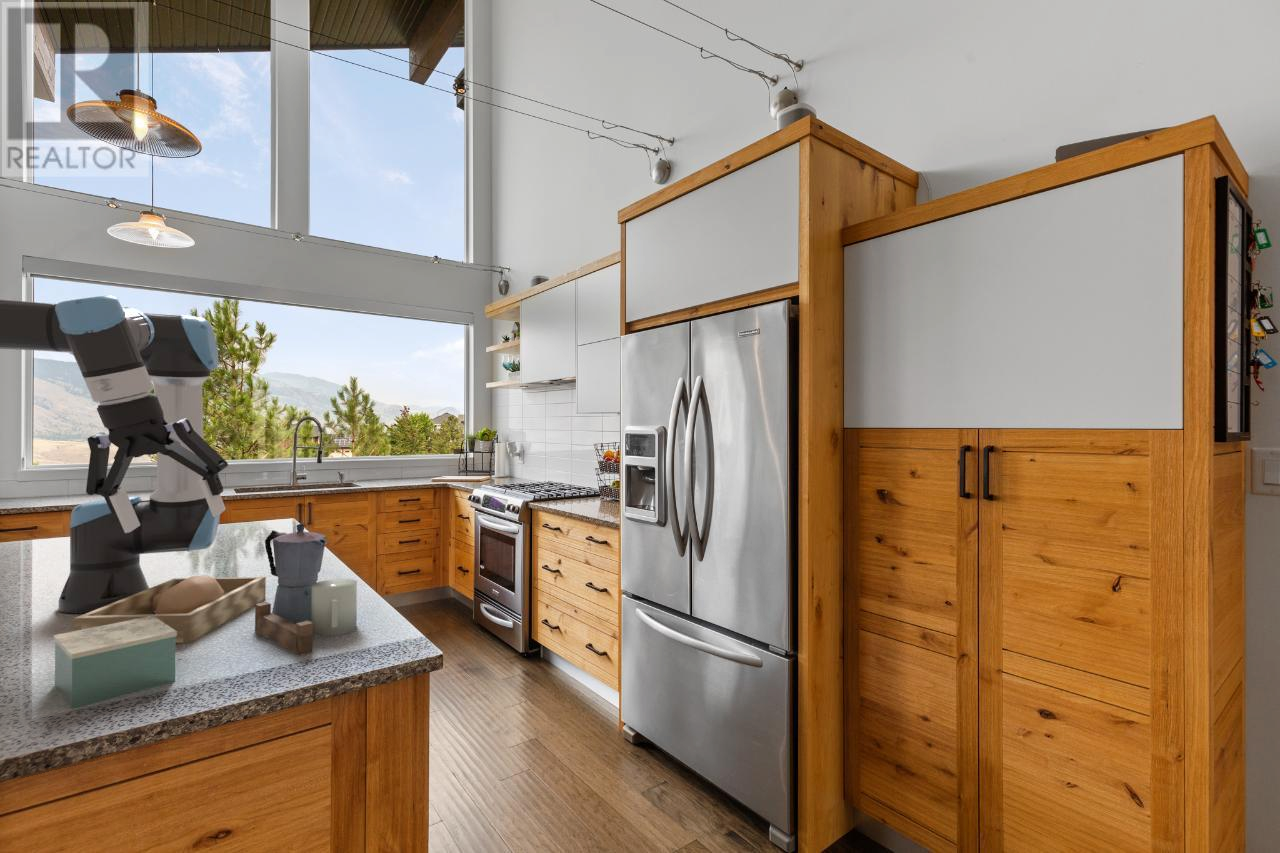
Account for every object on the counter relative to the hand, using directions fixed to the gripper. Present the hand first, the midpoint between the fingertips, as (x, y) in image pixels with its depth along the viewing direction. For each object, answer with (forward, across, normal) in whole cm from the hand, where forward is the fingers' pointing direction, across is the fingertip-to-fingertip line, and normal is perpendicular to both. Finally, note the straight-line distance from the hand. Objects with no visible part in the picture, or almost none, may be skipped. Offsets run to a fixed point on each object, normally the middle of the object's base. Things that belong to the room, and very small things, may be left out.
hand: (176, 521), depth 101 cm
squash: (+27, -19, +19) cm, 38 cm away
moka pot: (+31, +4, +15) cm, 35 cm away
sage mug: (+31, +14, +8) cm, 35 cm away
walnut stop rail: (+28, +7, +4) cm, 29 cm away
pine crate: (+27, -19, +19) cm, 38 cm away
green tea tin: (+20, -10, -12) cm, 26 cm away
